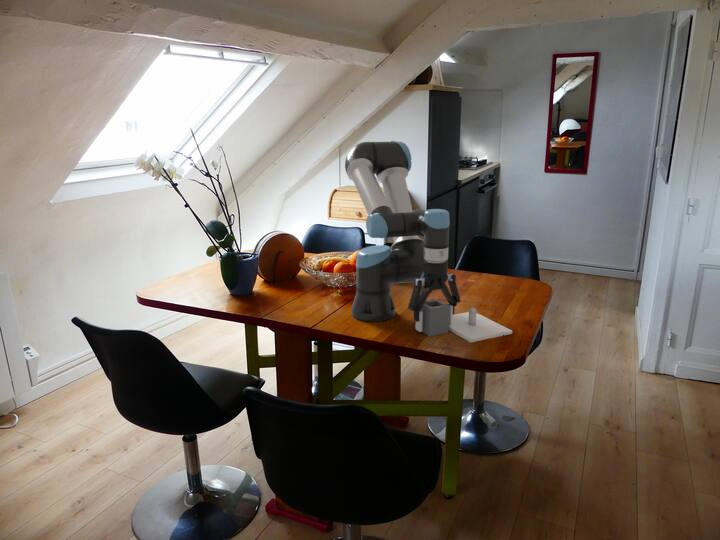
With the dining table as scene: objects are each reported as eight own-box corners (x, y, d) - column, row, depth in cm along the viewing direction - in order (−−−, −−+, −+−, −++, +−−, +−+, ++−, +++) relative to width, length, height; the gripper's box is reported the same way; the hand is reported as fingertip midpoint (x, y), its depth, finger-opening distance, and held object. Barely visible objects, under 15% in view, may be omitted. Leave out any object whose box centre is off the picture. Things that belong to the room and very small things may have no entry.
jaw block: (429, 336, 170) (430, 309, 168) (417, 328, 176) (418, 302, 174) (448, 332, 173) (449, 305, 171) (435, 325, 179) (436, 299, 177)
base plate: (470, 342, 165) (471, 321, 164) (433, 321, 183) (434, 302, 181) (512, 333, 172) (513, 313, 170) (473, 313, 190) (474, 295, 188)
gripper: (409, 267, 160) (408, 337, 166) (473, 258, 170) (470, 324, 176) (396, 261, 167) (396, 329, 173) (459, 253, 177) (457, 317, 183)
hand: (433, 327), depth 174 cm, fingers open, 11 cm apart
